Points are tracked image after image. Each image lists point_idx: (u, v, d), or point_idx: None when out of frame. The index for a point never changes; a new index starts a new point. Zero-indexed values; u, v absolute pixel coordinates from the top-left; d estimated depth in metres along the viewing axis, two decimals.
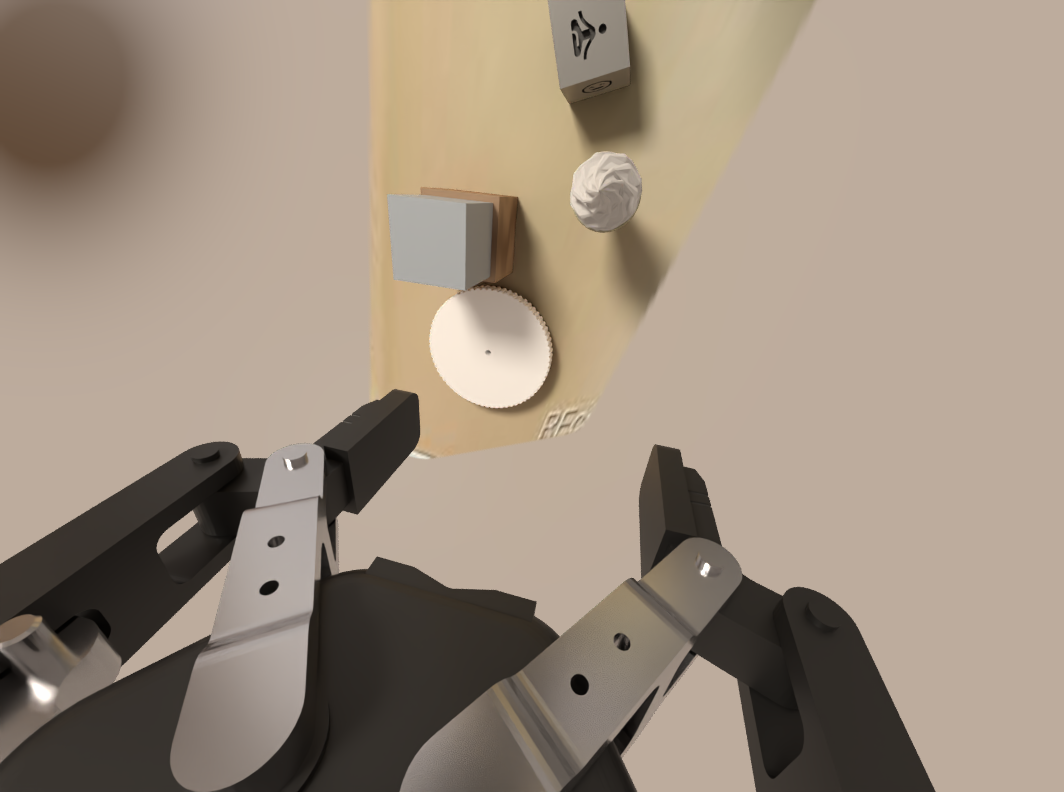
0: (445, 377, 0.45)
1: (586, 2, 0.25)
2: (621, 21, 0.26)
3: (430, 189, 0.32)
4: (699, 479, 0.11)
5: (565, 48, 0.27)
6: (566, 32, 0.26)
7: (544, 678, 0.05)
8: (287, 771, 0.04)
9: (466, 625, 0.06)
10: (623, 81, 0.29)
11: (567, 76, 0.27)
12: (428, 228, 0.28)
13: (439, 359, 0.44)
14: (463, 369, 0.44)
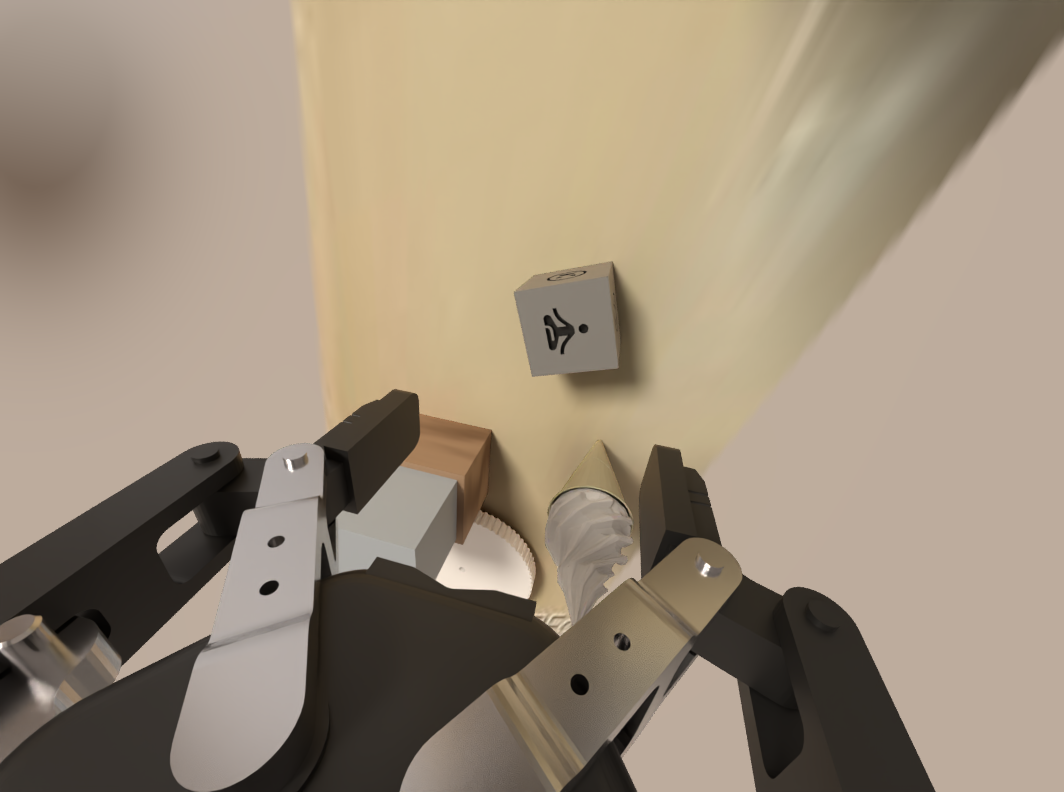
0: None
1: (562, 301, 0.20)
2: (607, 325, 0.20)
3: None
4: (699, 478, 0.11)
5: (537, 340, 0.21)
6: (537, 325, 0.21)
7: (544, 678, 0.05)
8: (287, 771, 0.04)
9: (466, 625, 0.06)
10: None
11: (540, 366, 0.22)
12: (371, 558, 0.23)
13: None
14: None
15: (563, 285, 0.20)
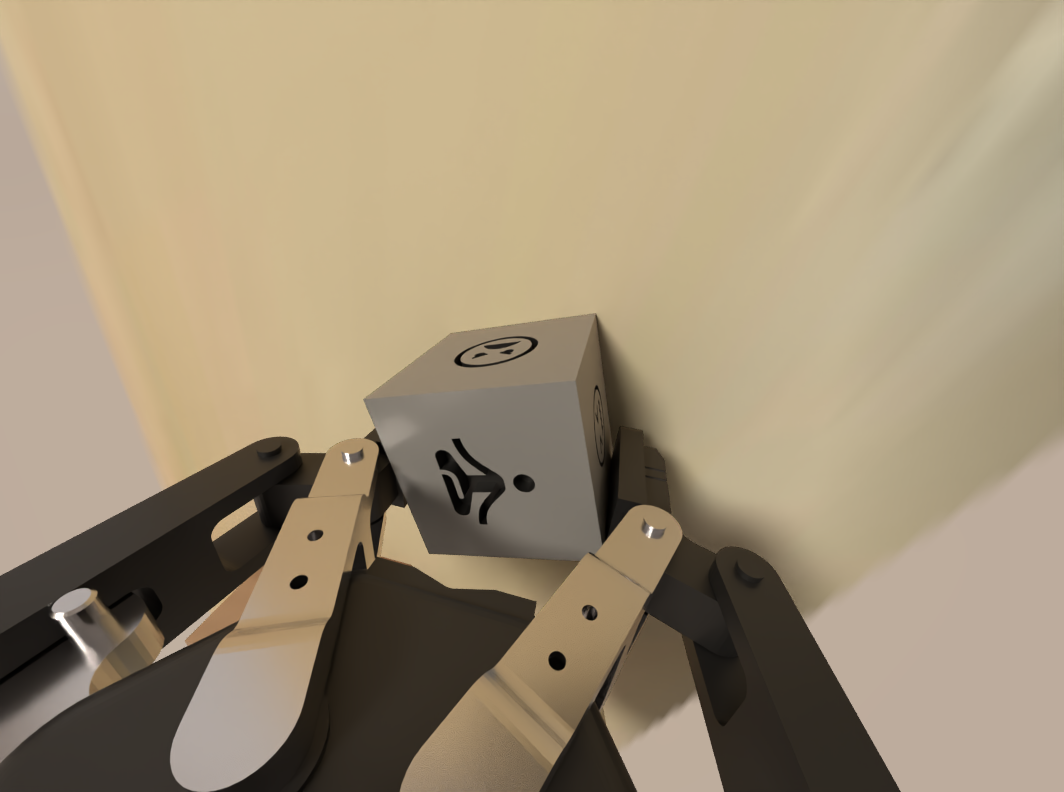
0: None
1: (472, 425, 0.08)
2: (577, 482, 0.09)
3: None
4: (659, 457, 0.11)
5: (429, 495, 0.10)
6: (425, 469, 0.09)
7: (523, 663, 0.05)
8: (274, 783, 0.04)
9: (466, 625, 0.06)
10: None
11: (443, 539, 0.10)
12: None
13: None
14: None
15: (470, 394, 0.08)
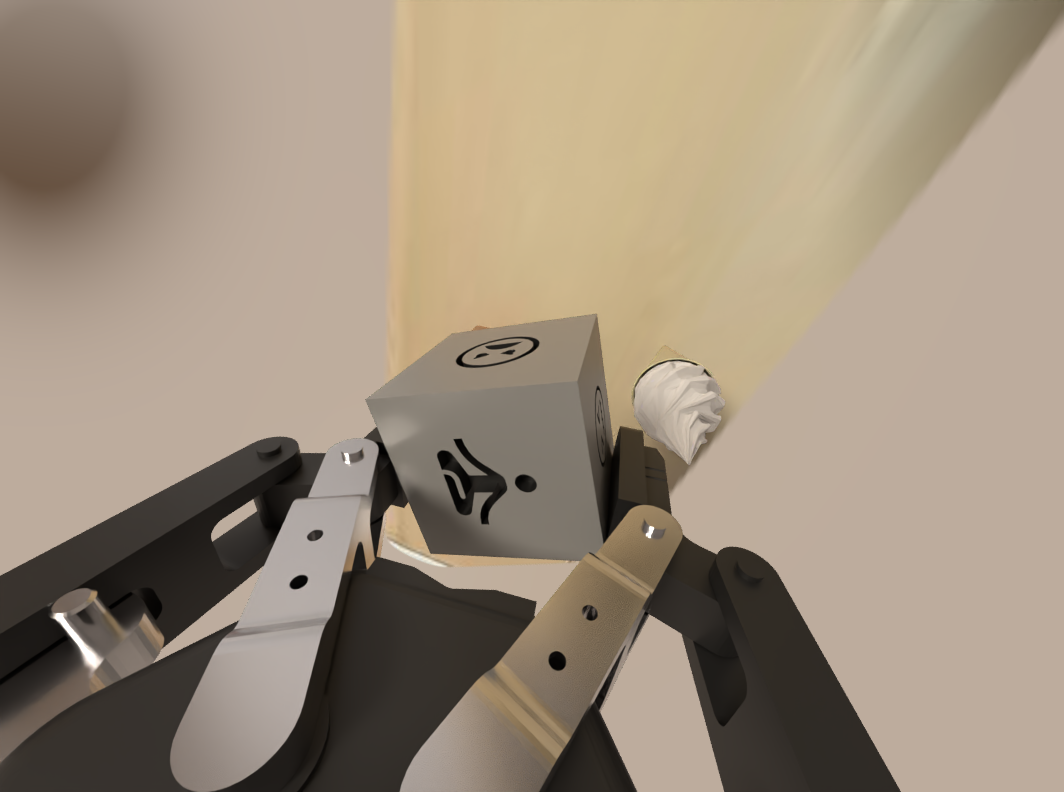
0: None
1: (474, 426, 0.09)
2: (578, 482, 0.09)
3: None
4: (660, 457, 0.11)
5: (431, 495, 0.10)
6: (427, 468, 0.09)
7: (523, 663, 0.05)
8: (275, 784, 0.04)
9: (466, 625, 0.06)
10: None
11: (444, 539, 0.10)
12: None
13: None
14: None
15: (472, 395, 0.08)
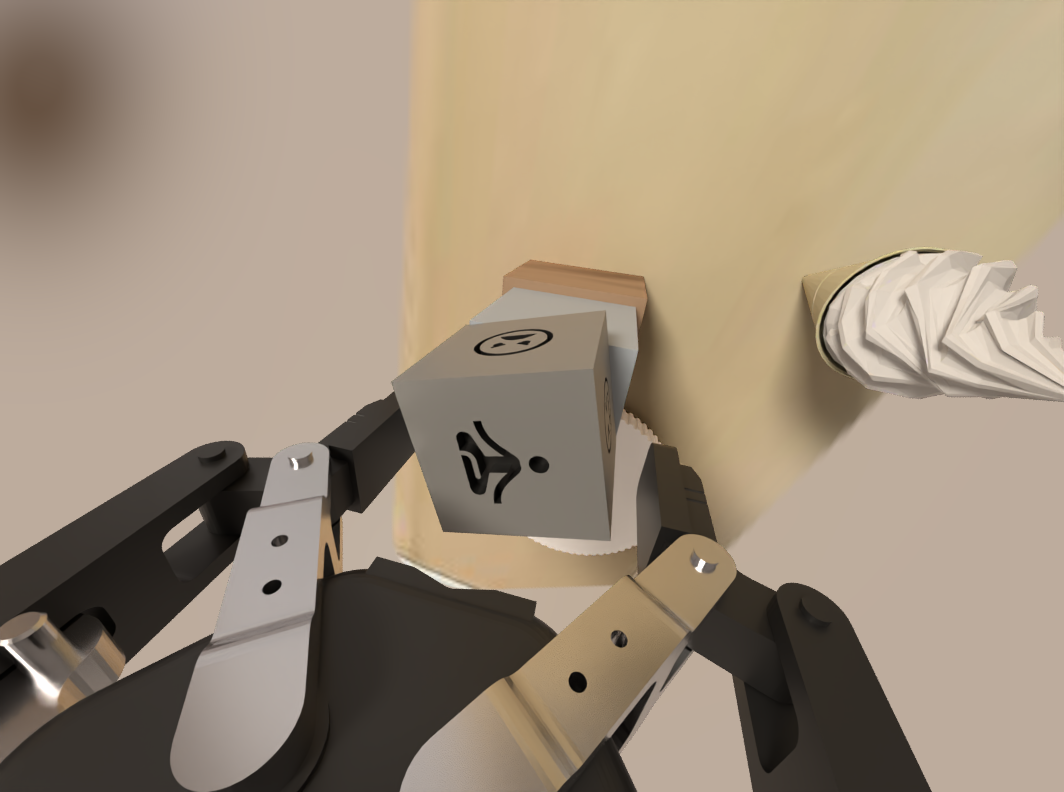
0: None
1: (493, 409, 0.09)
2: (589, 464, 0.09)
3: (520, 280, 0.19)
4: (696, 476, 0.11)
5: (447, 474, 0.10)
6: (446, 449, 0.10)
7: (543, 677, 0.05)
8: (285, 772, 0.04)
9: (466, 625, 0.06)
10: None
11: (457, 518, 0.11)
12: None
13: None
14: None
15: (493, 379, 0.09)
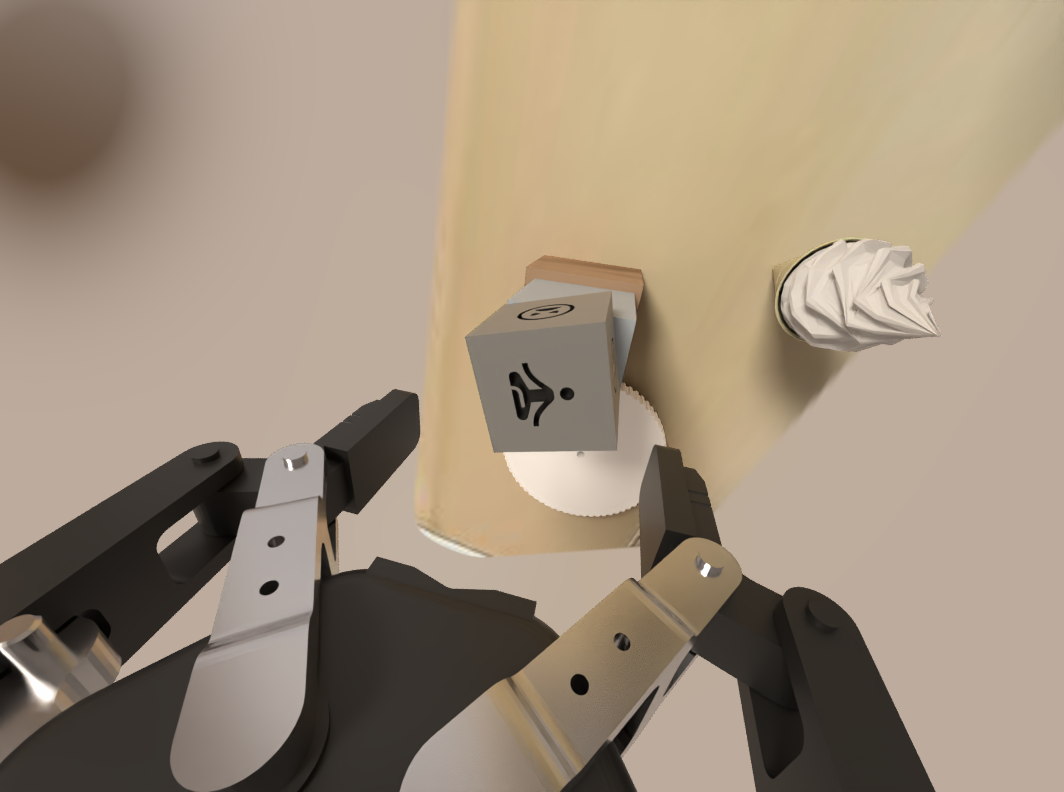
0: (519, 478, 0.35)
1: (536, 353, 0.13)
2: (602, 391, 0.13)
3: (540, 270, 0.23)
4: (699, 478, 0.11)
5: (500, 405, 0.15)
6: (500, 386, 0.14)
7: (544, 678, 0.05)
8: (287, 771, 0.04)
9: (466, 625, 0.06)
10: None
11: (506, 440, 0.15)
12: None
13: (513, 457, 0.34)
14: (544, 470, 0.34)
15: (537, 332, 0.13)
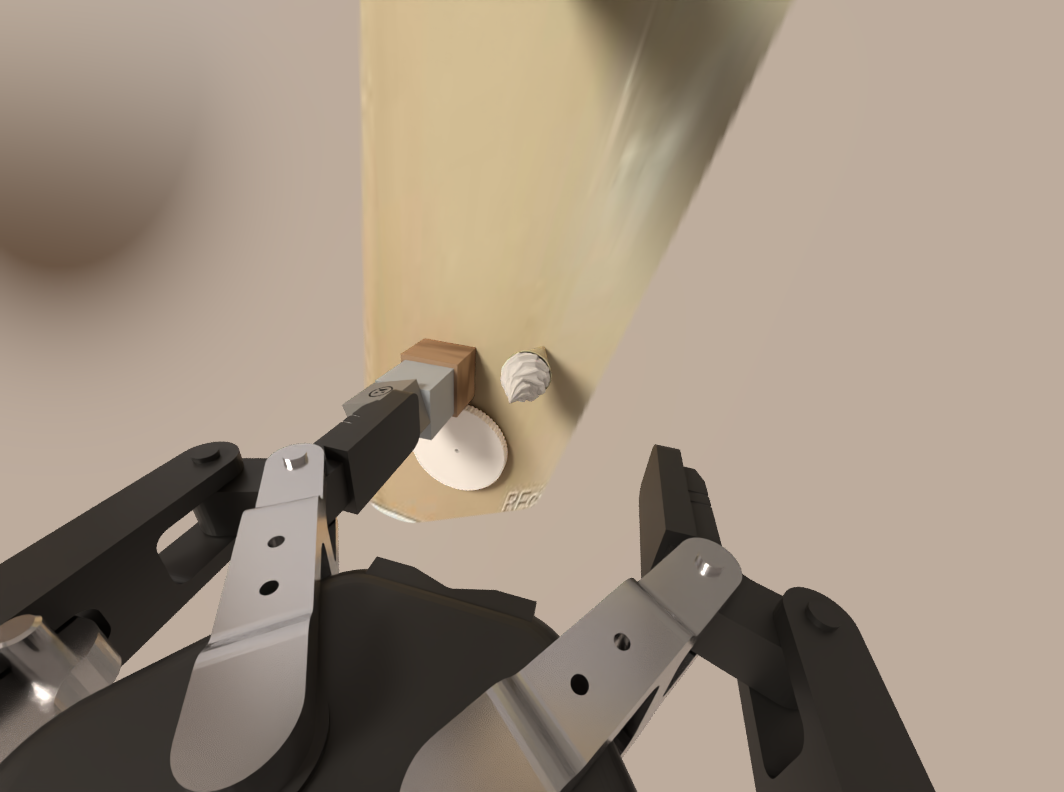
0: (424, 466, 0.56)
1: None
2: None
3: (407, 356, 0.44)
4: (699, 478, 0.11)
5: None
6: None
7: (544, 678, 0.05)
8: (288, 770, 0.04)
9: (466, 625, 0.06)
10: None
11: None
12: None
13: (419, 453, 0.55)
14: (438, 461, 0.55)
15: None
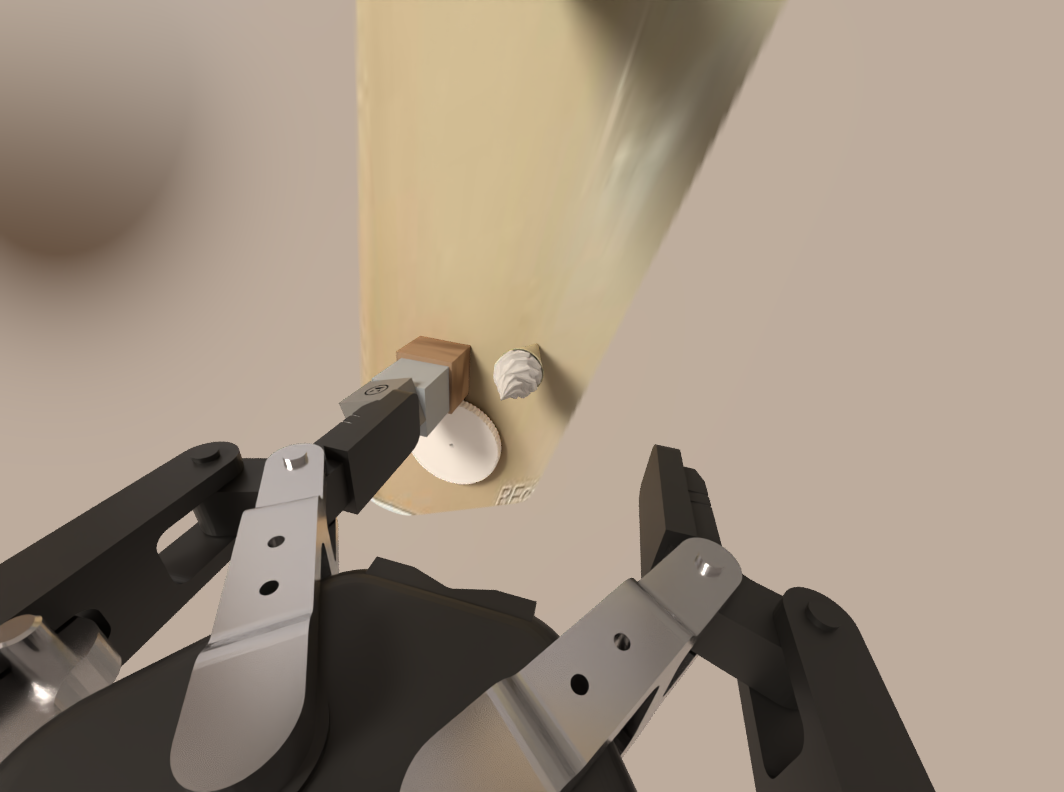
0: (419, 460, 0.57)
1: None
2: None
3: (403, 353, 0.45)
4: (699, 478, 0.11)
5: None
6: None
7: (544, 678, 0.05)
8: (287, 771, 0.04)
9: (466, 625, 0.06)
10: None
11: None
12: None
13: None
14: (433, 455, 0.56)
15: (363, 402, 0.35)
